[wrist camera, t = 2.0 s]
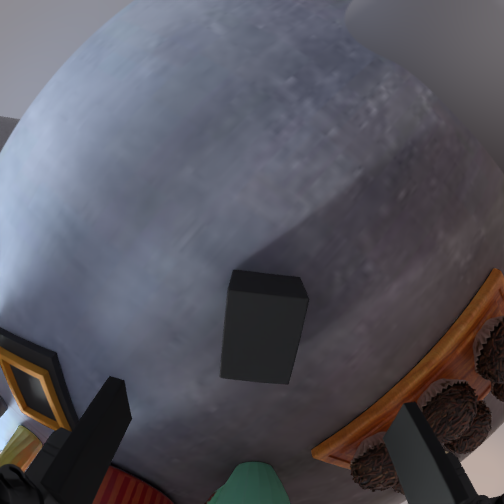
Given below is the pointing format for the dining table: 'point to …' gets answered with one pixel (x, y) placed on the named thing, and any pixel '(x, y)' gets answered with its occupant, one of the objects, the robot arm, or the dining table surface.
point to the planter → (127, 490)
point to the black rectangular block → (262, 327)
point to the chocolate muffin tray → (433, 394)
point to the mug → (251, 486)
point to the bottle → (2, 406)
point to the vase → (21, 449)
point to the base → (36, 382)
